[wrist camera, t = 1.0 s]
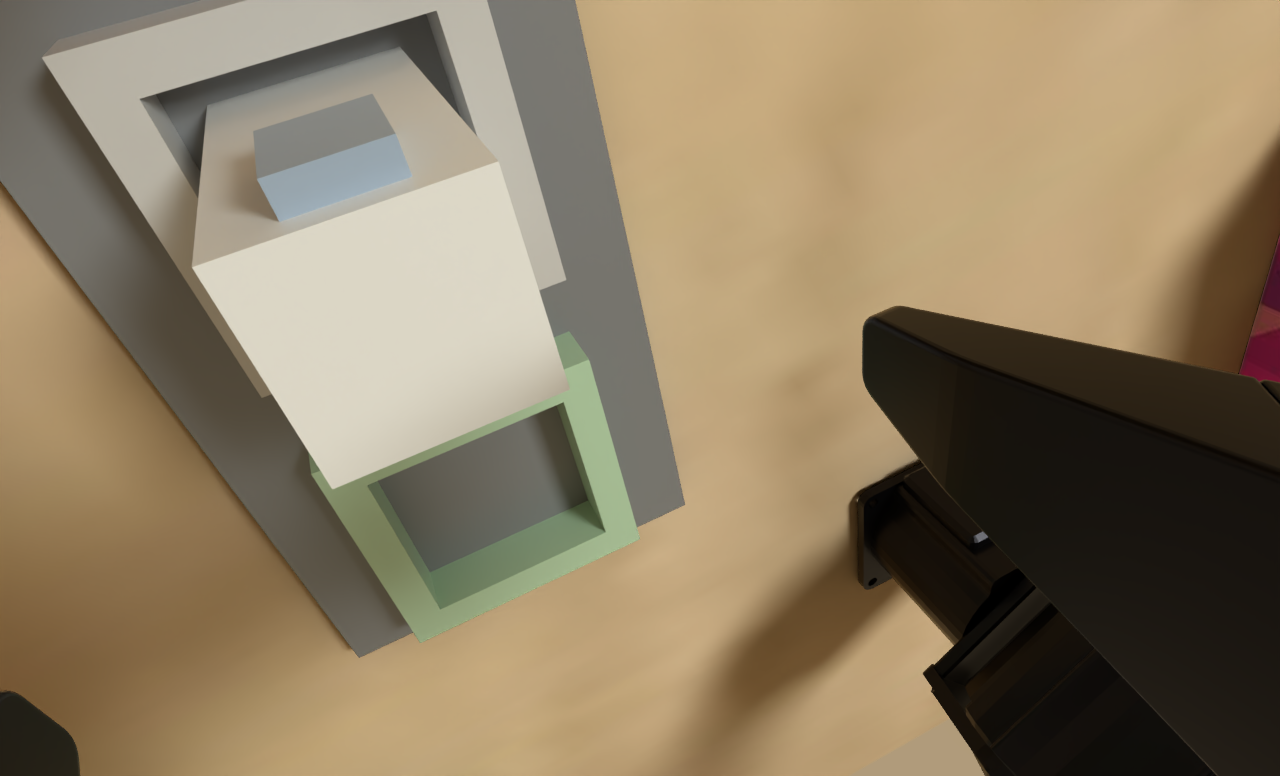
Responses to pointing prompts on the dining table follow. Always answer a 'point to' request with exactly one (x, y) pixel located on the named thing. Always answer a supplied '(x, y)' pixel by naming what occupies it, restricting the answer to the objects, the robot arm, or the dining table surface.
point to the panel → (220, 368)
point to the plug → (370, 263)
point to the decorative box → (1266, 330)
